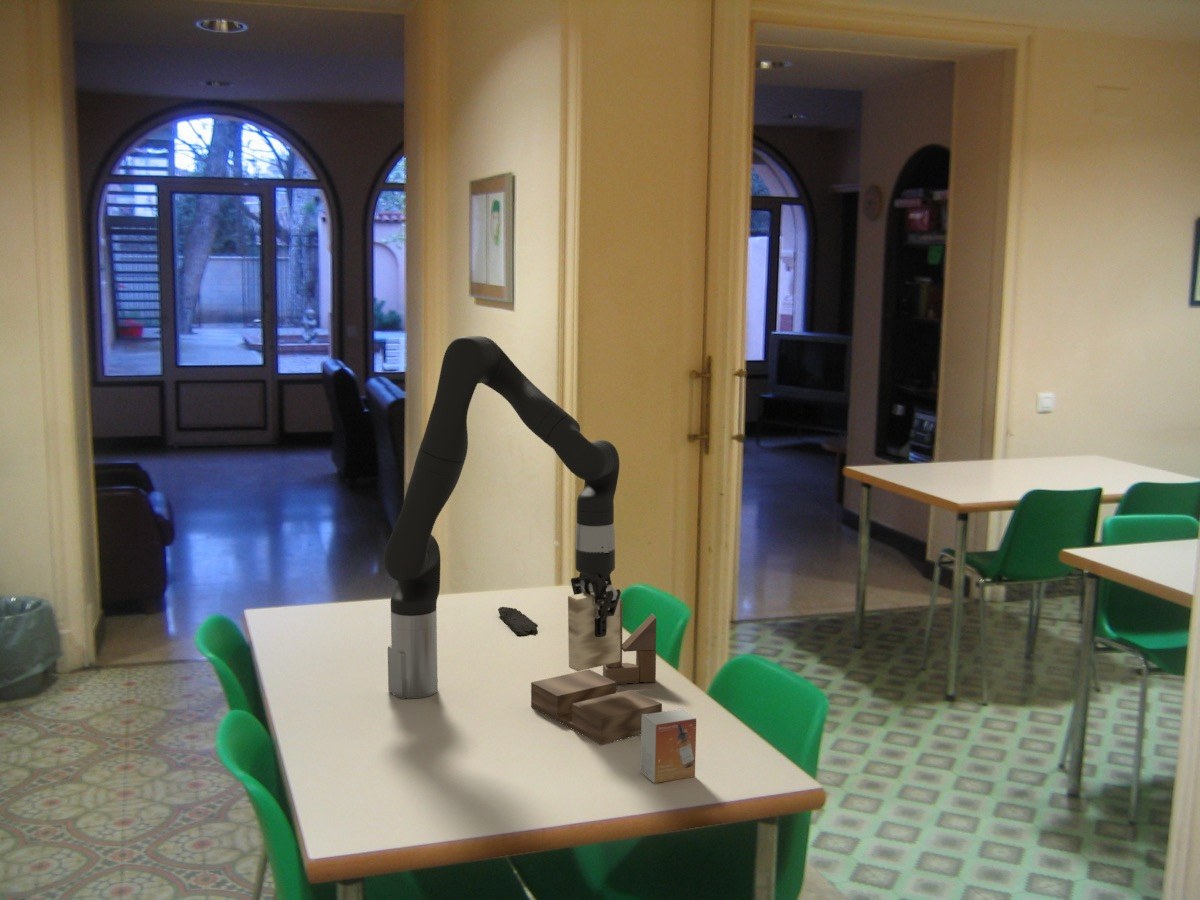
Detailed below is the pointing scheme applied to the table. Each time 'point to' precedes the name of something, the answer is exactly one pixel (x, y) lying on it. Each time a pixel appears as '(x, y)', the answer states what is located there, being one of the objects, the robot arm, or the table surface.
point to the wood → (518, 621)
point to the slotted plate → (592, 705)
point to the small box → (668, 745)
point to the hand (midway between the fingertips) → (595, 633)
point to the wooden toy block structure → (645, 654)
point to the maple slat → (591, 635)
